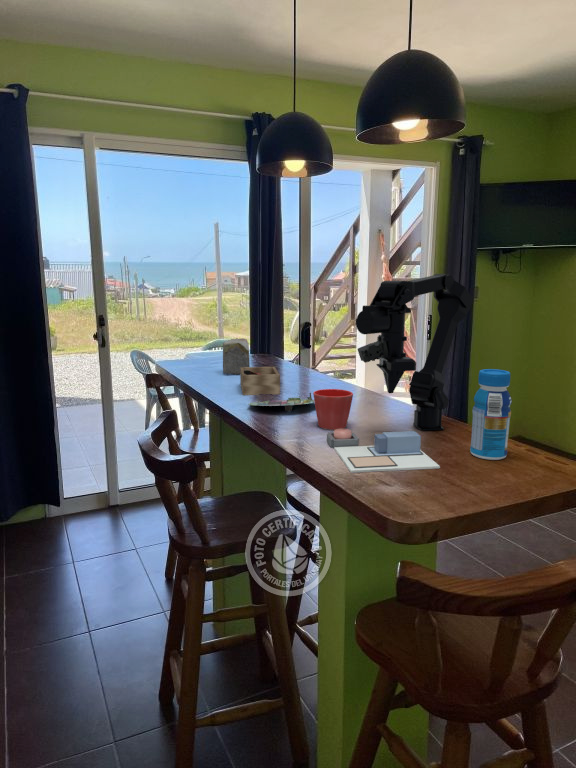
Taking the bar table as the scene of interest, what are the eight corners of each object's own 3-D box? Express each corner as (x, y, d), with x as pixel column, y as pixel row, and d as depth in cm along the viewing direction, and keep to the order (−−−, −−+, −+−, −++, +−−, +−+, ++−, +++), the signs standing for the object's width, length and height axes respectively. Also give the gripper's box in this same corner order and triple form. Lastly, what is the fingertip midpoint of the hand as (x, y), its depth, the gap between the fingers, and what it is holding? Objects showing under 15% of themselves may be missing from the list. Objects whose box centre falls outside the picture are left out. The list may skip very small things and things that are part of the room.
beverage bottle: (462, 453, 128) (467, 370, 124) (482, 447, 133) (488, 366, 129) (494, 463, 121) (501, 376, 117) (514, 456, 126) (522, 371, 122)
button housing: (352, 439, 139) (352, 431, 139) (359, 447, 133) (359, 439, 132) (325, 440, 138) (326, 432, 138) (331, 448, 132) (331, 440, 131)
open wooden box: (274, 384, 208) (274, 366, 206) (279, 394, 191) (279, 374, 190) (240, 385, 206) (240, 367, 204) (243, 395, 189) (242, 375, 188)
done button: (348, 439, 138) (349, 428, 137) (353, 444, 134) (353, 433, 133) (332, 440, 137) (332, 428, 137) (335, 445, 133) (336, 433, 132)
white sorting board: (413, 445, 134) (413, 442, 134) (439, 468, 118) (440, 465, 118) (334, 449, 131) (334, 446, 131) (350, 472, 116) (350, 469, 116)
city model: (308, 402, 188) (307, 385, 188) (336, 410, 166) (335, 391, 166) (238, 410, 180) (237, 392, 180) (258, 419, 158) (257, 398, 158)
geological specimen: (224, 376, 225) (223, 340, 222) (222, 373, 231) (221, 338, 228) (250, 374, 228) (249, 339, 225) (247, 372, 234) (246, 337, 231)
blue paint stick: (413, 447, 131) (414, 431, 130) (420, 452, 127) (420, 436, 126) (373, 448, 129) (374, 432, 129) (378, 454, 126) (379, 437, 125)
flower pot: (327, 419, 159) (327, 386, 157) (359, 425, 152) (360, 391, 150) (305, 426, 151) (305, 392, 149) (337, 434, 144) (338, 398, 142)
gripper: (351, 328, 143) (350, 386, 146) (372, 336, 125) (370, 402, 128) (392, 328, 144) (390, 385, 147) (418, 335, 126) (415, 401, 129)
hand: (390, 392), depth 138 cm, fingers closed
